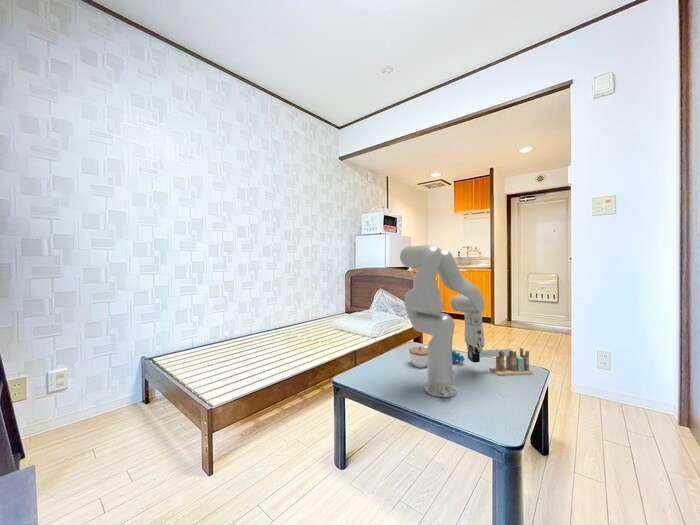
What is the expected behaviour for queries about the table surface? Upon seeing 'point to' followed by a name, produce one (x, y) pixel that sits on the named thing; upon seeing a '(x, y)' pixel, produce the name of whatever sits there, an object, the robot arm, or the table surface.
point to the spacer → (519, 363)
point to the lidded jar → (419, 356)
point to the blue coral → (457, 356)
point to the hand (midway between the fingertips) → (473, 360)
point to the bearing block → (511, 364)
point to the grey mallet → (490, 353)
